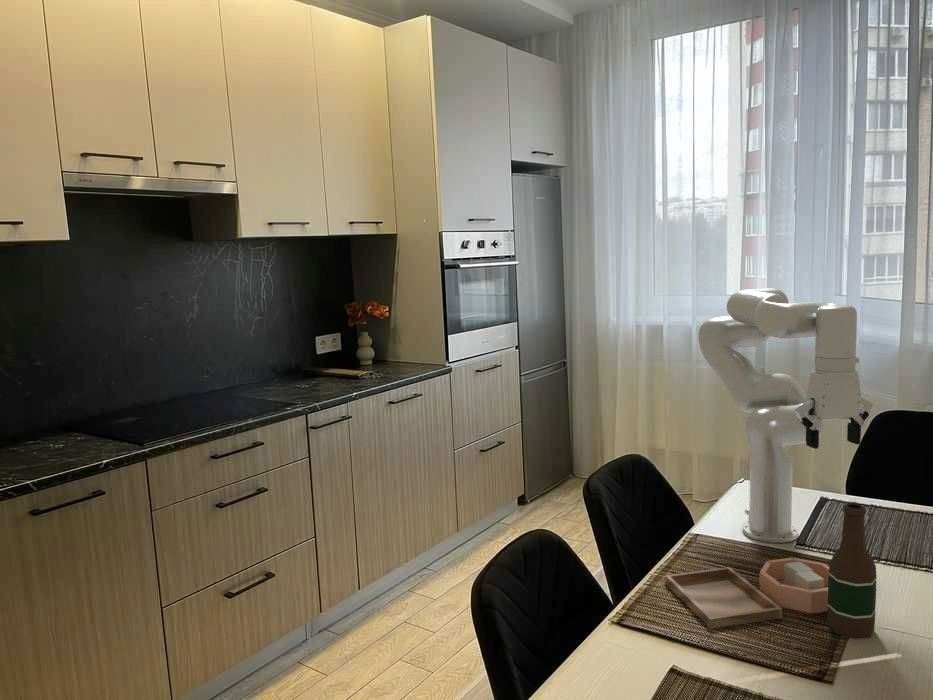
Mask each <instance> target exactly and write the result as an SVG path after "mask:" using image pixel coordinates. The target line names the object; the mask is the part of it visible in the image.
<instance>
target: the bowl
mask: <svg viewBox="0 0 933 700" xmlns="http://www.w3.org/2000/svg"><path fill="white" fill-rule="evenodd" d="M799 561H800V562H801V563H803V564H805V565H806V566H808V567H809V568H811V569H813V572H814V573H816V574H817V575H819V576H820V577H822V578H823V579H824V588H820V589H813V590H808V589H803V588H798V587H794V586H789V585H784V567H785V564H786V563H792V562H799ZM828 574H829V565H828V564H826V563H823V562H819V561H814V560H808V559H802V558H797V557H787V558H779V559H778V558H777V559H772V560H766V561H765V563H764V564H763V566H762V568H761V569H760V571H759V591H761V592H762V593H763V594H764V595H766V596H767V597H768V598H769V599H771V600H772V601H773V602H774V603H776V604H777V605H778V606H780V607H781V608H785V609H790V610H794V611H797V612H798V611H799V612H804V613H807V614H816V613H817V614H818V613H824V612H828Z"/></svg>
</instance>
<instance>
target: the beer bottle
mask: <svg viewBox="0 0 933 700" xmlns="http://www.w3.org/2000/svg"><path fill="white" fill-rule="evenodd" d="M842 512H843V520H842V521H843V523H842V533H841V541H840V544H839V547H838V549H837V550H836V551H835V553H833V555H832V556H831V559H830V561H829V565H828V566H829V574H828V611H827V614H826V615H827V617H826V618H827V626H828V628H830V629H831V630H832V631H833V632H834V633H835V634H837V635H840V636H843V637H847V638H850V639H853V640H856V639H857V640H859V639H868V638H871V637H872V636H873V633H874V632H875V625H876V605H877V604H876V603H877V601H876V599H877V566H876V564H875V561H874V558H873V557H872V556H871V554H870V552H869V551H868V549H867V544H866V530H865V529H866V527H865V525H866V524H865V515H866V513H867V510H866V507H865V506H863V505H862V504H858V503H846V504H845V505H844V506H843V509H842Z"/></svg>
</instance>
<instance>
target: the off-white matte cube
mask: <svg viewBox="0 0 933 700" xmlns="http://www.w3.org/2000/svg"><path fill="white" fill-rule="evenodd" d="M810 570H811V571H812V572H813V569H811V568H809V567H808V566H806V565H805V564H803V563H801V562H800V561H799V562H792V563H786V564H785V567H784V585H789V586H794V587H795V573H797V572H803V571H810Z"/></svg>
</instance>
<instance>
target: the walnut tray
mask: <svg viewBox="0 0 933 700" xmlns="http://www.w3.org/2000/svg"><path fill="white" fill-rule="evenodd" d="M664 576H665V577H664V578H665V579H664V582H665V583H664V584H665V585H666V586H667V587H668V588H669V589H670V590H671V591H672V592H673V593H674V594H675V595H676V596H677V597H678V598H679V599H680V600H681V601H682V602H683V603H684V604H685V605H686V606H687V607H688V608H689V609H690V610H691V611H692V612H693V613H694V614H695V616H697V617H698V618H699V619H700V620H701V621H702V622H703V623H704V624H705V625H706V626H707V627H708V628H709V629H717V628H725V627H729V626H730V627H732V626H737V625H745V624H749V623H750V624H751V623H758V622H765V621H771V620H778V619H783V607H780V606H778V605H777V604H776V603H774V602H773V601H772V600H771V599H769V598H768V597H767V596H766V595H764V594H763V593H762V592H761V591H760V589H758V588H757V587H756V586H755V585H753V584H752V583H751V582H749V581H748V580H747V579H746V578H744V577H743V576H742V575H740V574H739V573H738V572H737V571H735V570H734V569H733V568H731V566H727V567H719V568H711V569H705V570H695V571H688V572H680V573H674V574H666V575H664Z"/></svg>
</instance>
